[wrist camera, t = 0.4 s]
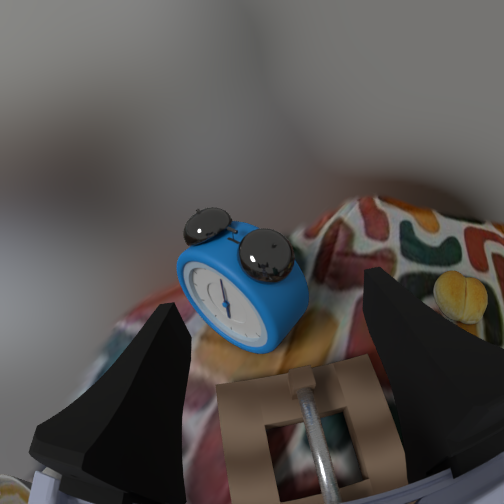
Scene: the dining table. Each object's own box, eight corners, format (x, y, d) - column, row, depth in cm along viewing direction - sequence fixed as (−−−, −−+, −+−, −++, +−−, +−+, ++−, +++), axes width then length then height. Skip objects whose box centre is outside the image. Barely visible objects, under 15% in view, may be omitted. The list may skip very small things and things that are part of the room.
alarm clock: (189, 316, 36) (157, 218, 26) (222, 286, 40) (204, 188, 30) (275, 373, 30) (275, 278, 20) (306, 334, 33) (319, 231, 23)
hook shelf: (411, 505, 16) (435, 503, 13) (244, 552, 15) (238, 562, 12) (363, 362, 30) (375, 339, 26) (218, 391, 29) (210, 372, 25)
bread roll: (434, 274, 39) (443, 254, 36) (481, 293, 35) (492, 274, 32) (426, 313, 34) (437, 293, 31) (479, 334, 30) (493, 316, 27)
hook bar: (344, 518, 15) (348, 519, 14) (327, 523, 15) (331, 524, 14) (308, 382, 26) (309, 376, 25) (293, 385, 25) (294, 379, 24)
